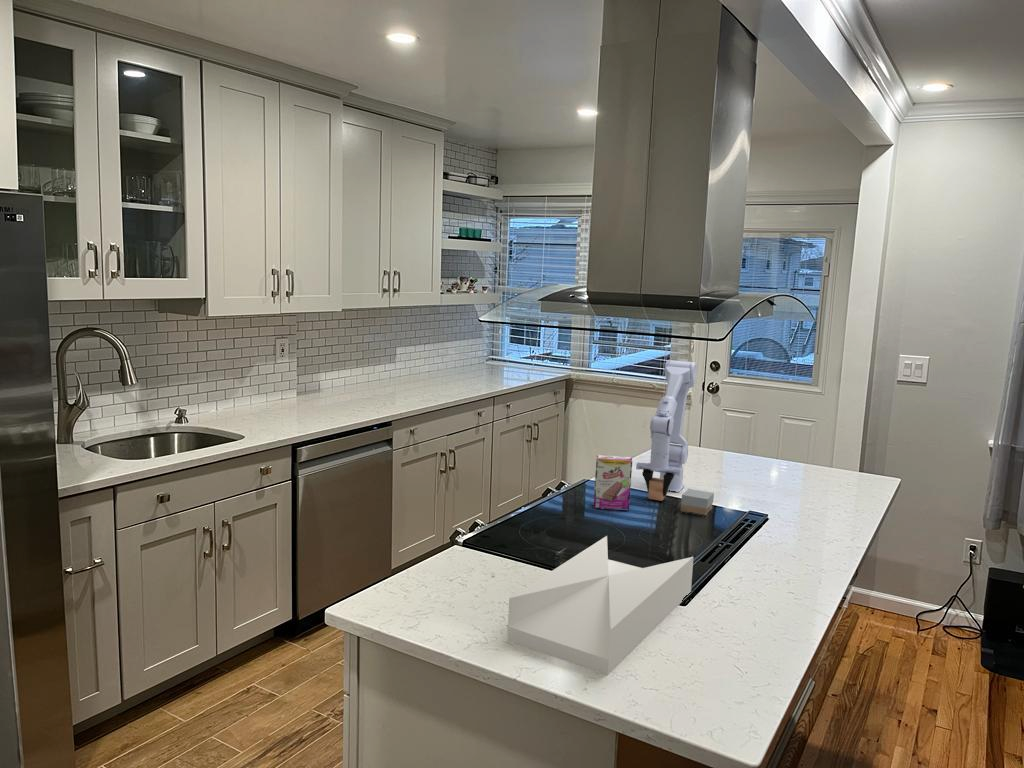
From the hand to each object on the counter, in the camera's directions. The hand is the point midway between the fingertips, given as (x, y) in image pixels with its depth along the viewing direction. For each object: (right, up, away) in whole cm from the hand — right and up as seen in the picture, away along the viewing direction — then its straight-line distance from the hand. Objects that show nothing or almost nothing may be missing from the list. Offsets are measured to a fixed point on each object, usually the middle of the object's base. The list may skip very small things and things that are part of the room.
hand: (657, 493), depth 252 cm
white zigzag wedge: (-27, -15, -84) cm, 89 cm away
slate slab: (+11, -2, -10) cm, 15 cm away
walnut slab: (+11, -5, -9) cm, 15 cm away
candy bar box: (-16, -3, -10) cm, 19 cm away
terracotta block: (0, -1, 0) cm, 1 cm away
